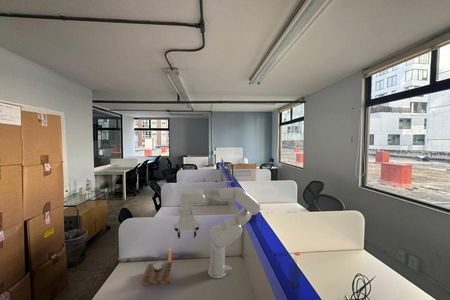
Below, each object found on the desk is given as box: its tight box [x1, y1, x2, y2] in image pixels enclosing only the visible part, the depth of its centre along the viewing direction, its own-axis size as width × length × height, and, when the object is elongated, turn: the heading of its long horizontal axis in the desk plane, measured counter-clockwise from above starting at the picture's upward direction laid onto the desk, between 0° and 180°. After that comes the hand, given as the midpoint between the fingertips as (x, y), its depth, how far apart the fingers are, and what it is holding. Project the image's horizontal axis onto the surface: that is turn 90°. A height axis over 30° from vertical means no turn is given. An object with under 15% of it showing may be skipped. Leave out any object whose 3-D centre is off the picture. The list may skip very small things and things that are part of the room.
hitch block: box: [142, 257, 174, 287], centre depth 135 cm, size 16×12×11 cm
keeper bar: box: [167, 247, 172, 263], centre depth 135 cm, size 9×3×1 cm
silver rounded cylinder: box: [153, 260, 164, 272], centre depth 135 cm, size 6×6×9 cm
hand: (186, 237), depth 135 cm, fingers open, 9 cm apart
